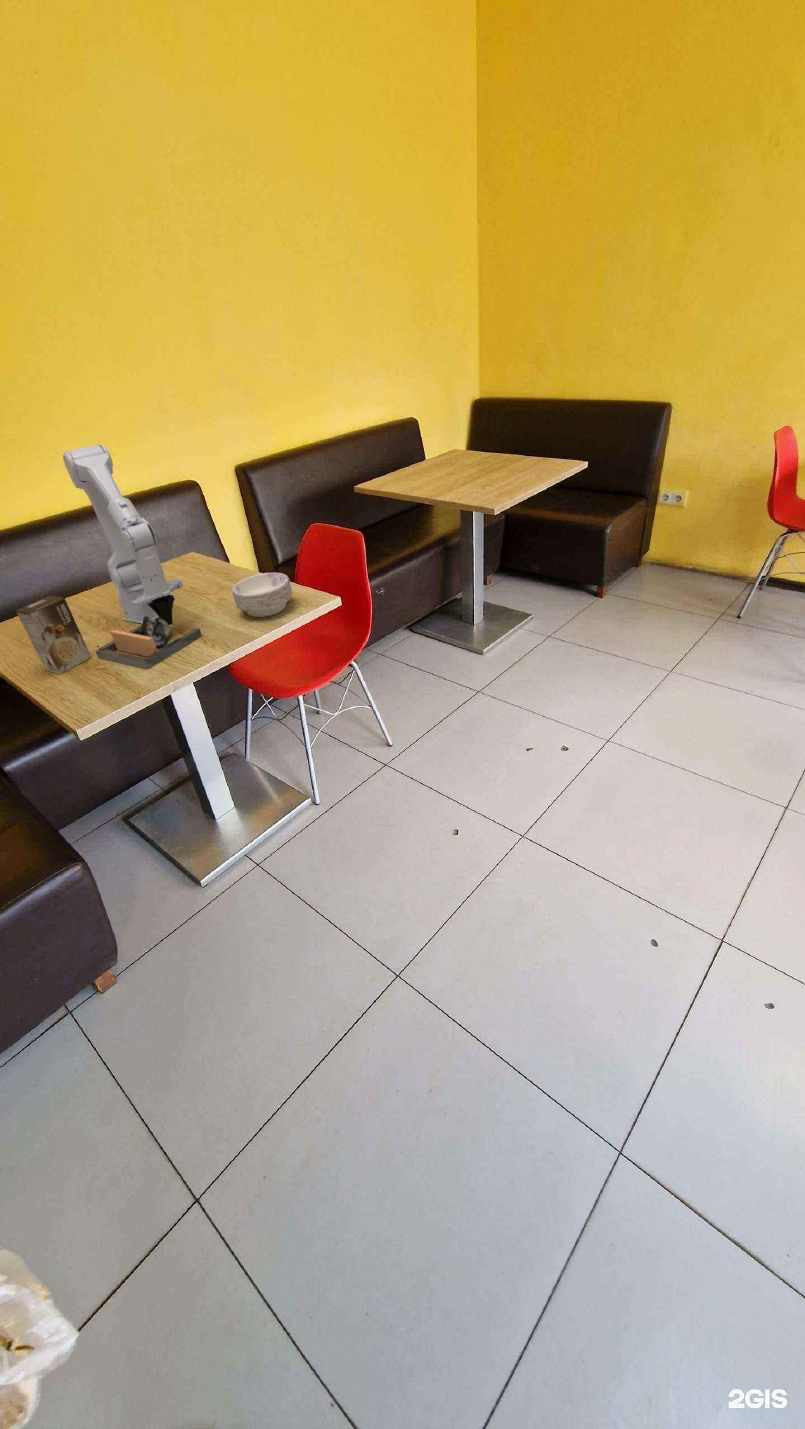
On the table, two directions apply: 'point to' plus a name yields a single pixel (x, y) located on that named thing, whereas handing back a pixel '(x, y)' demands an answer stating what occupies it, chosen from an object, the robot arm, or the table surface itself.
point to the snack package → (155, 630)
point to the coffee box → (54, 634)
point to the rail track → (153, 659)
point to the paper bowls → (262, 594)
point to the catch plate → (133, 643)
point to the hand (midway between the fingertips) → (168, 624)
